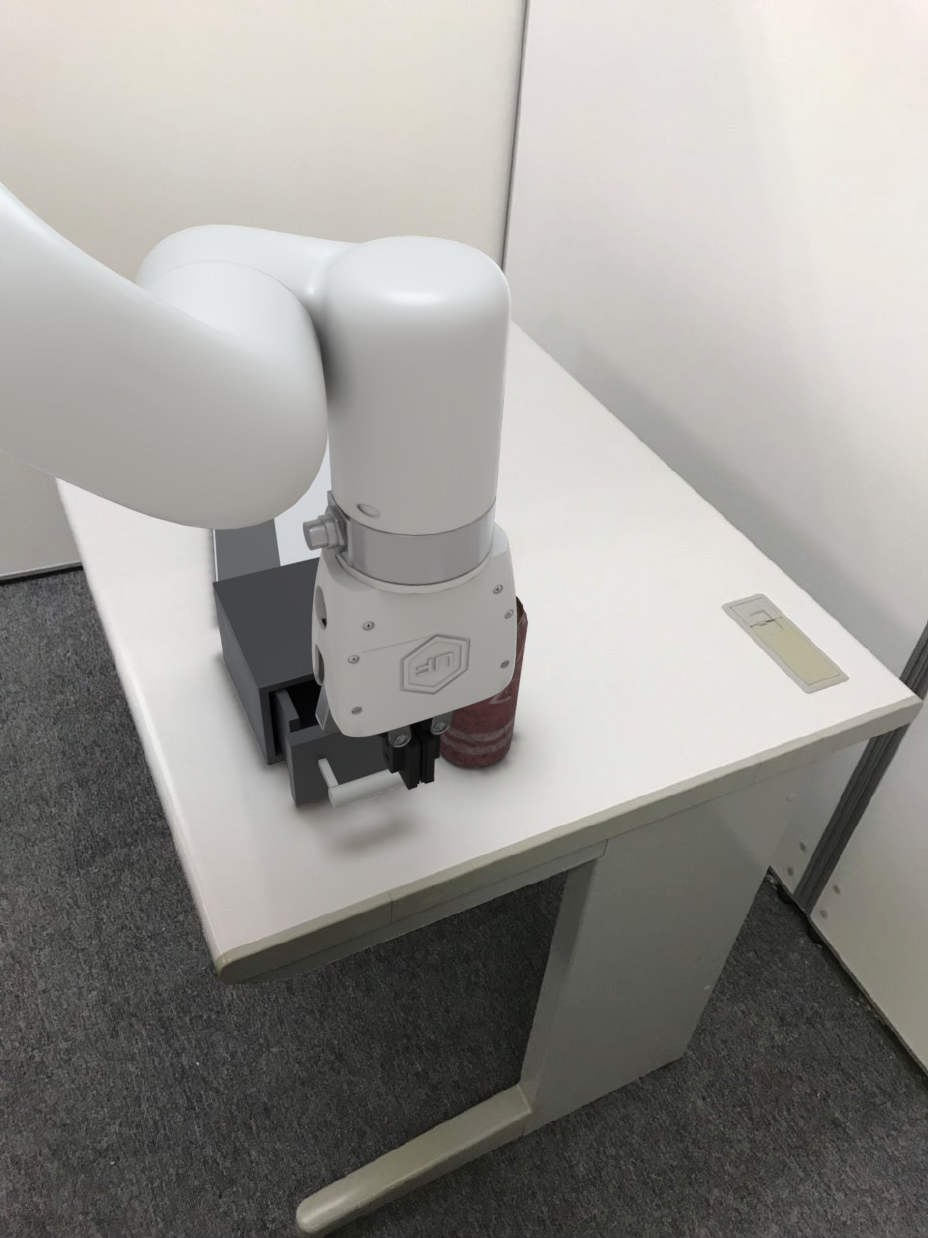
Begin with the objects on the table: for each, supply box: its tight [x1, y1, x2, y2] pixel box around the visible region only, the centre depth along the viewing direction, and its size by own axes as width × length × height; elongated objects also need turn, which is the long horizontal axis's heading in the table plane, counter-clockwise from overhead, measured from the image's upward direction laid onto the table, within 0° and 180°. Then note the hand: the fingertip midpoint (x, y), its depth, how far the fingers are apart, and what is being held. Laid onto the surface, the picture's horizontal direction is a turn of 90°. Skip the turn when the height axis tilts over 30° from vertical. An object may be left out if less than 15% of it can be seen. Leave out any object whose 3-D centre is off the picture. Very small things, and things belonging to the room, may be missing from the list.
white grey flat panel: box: [212, 439, 331, 582], centre depth 98 cm, size 32×26×1 cm
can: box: [440, 595, 529, 768], centre depth 72 cm, size 6×6×14 cm
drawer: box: [269, 679, 406, 809], centre depth 71 cm, size 15×9×7 cm, turn 26°
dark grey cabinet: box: [211, 557, 320, 765], centre depth 76 cm, size 12×10×8 cm
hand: (410, 768), depth 57 cm, fingers closed
